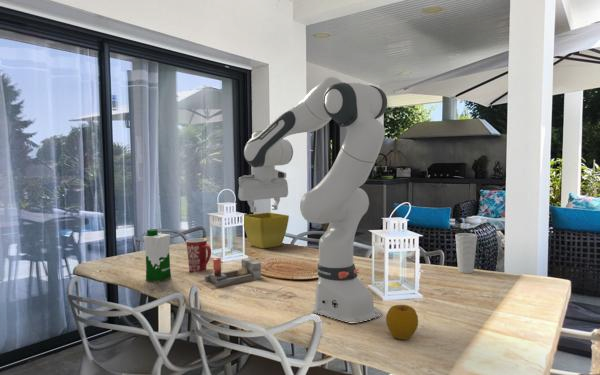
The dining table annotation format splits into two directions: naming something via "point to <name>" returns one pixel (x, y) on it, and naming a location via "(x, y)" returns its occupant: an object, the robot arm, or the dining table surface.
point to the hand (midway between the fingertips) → (264, 210)
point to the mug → (198, 254)
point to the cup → (466, 251)
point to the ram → (216, 271)
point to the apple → (402, 321)
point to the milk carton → (157, 255)
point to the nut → (242, 271)
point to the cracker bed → (236, 276)
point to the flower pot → (265, 229)
